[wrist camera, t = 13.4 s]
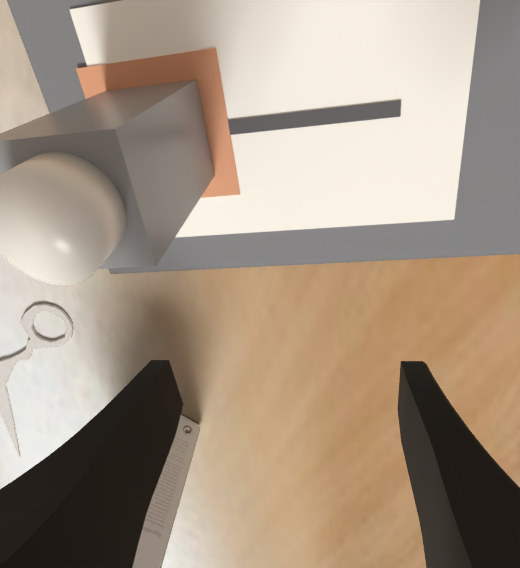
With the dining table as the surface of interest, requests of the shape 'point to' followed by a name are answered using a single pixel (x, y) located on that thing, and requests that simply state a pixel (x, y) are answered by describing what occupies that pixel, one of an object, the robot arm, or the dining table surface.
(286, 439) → the dining table surface
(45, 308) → the scissors
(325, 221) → the mat
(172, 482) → the skincare box
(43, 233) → the grey post with dome
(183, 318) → the dining table surface
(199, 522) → the dining table surface
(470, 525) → the robot arm
